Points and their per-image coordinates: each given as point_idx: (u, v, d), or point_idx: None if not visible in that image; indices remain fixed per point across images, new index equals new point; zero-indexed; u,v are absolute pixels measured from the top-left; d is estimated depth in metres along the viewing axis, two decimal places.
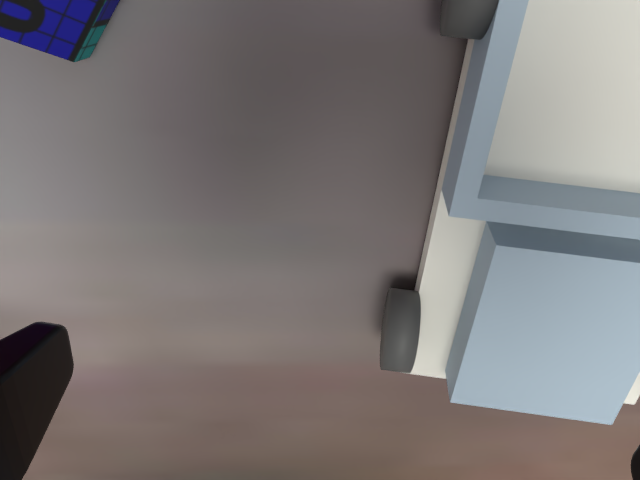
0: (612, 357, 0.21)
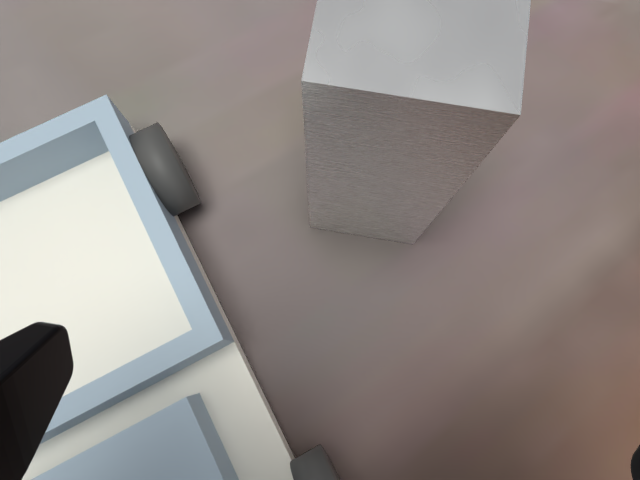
0: None
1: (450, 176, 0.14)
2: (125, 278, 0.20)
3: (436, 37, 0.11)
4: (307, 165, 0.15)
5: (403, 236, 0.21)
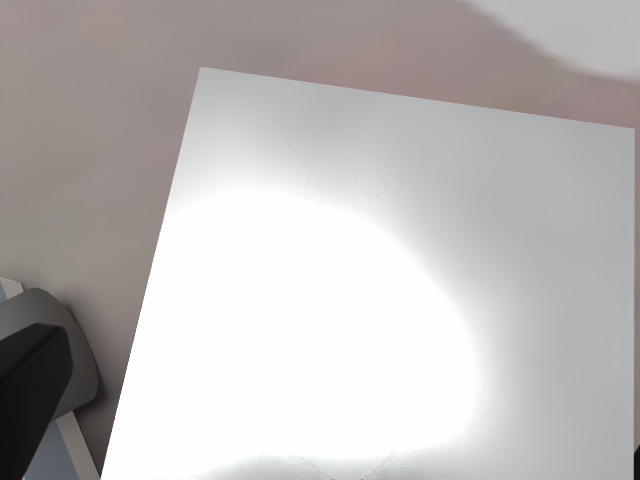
0: None
1: None
2: None
3: (419, 408, 0.05)
4: None
5: None
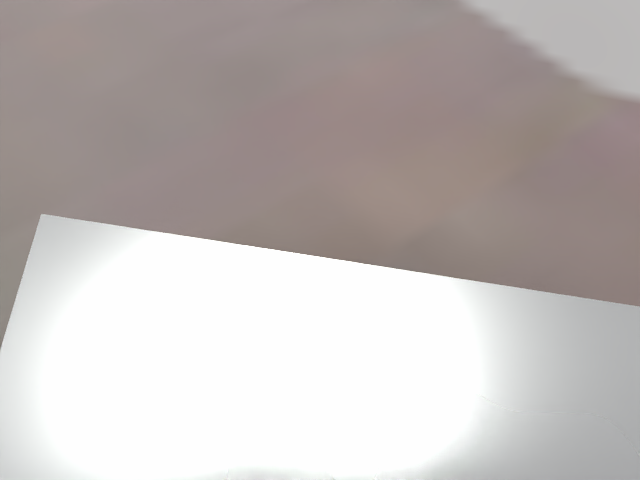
0: None
1: None
2: None
3: None
4: None
5: None
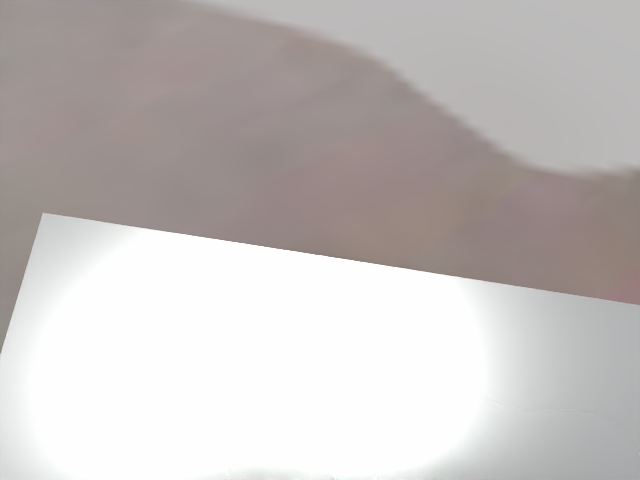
0: None
1: None
2: None
3: None
4: None
5: None
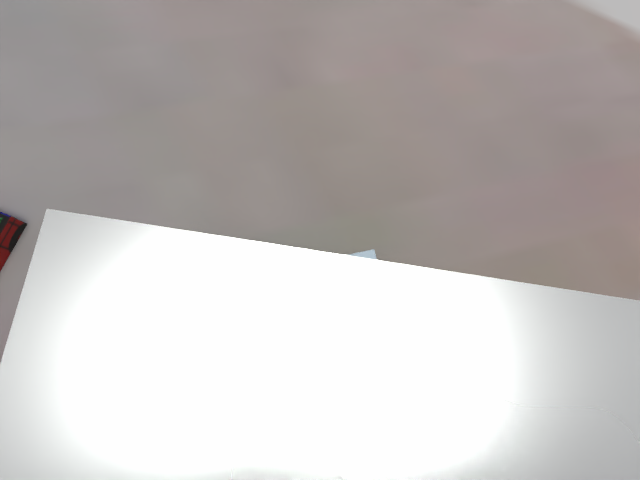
0: None
1: None
2: None
3: None
4: None
5: None
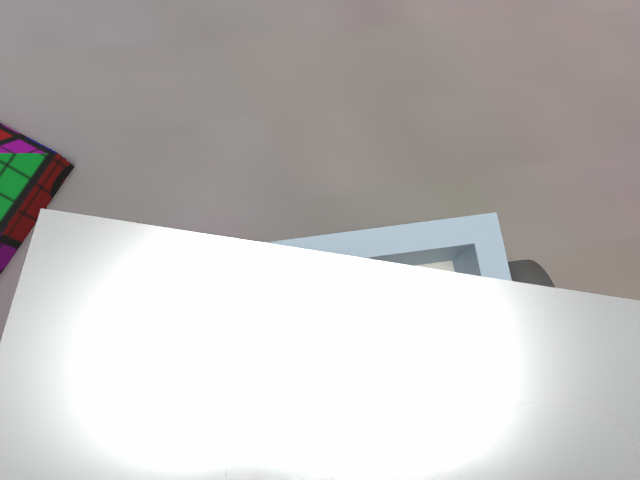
0: None
1: None
2: None
3: None
4: None
5: None
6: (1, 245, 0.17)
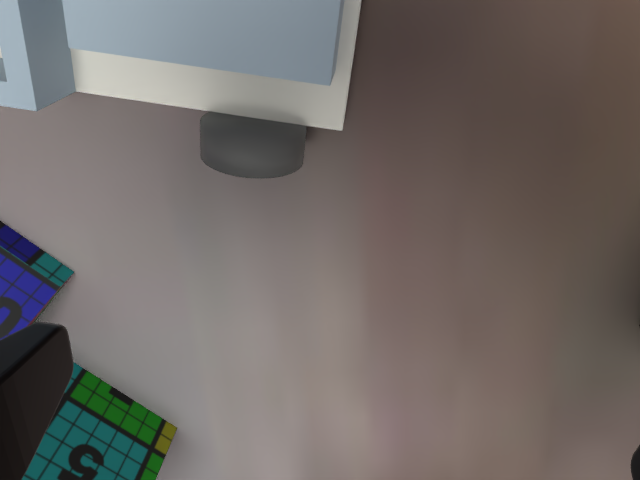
0: None
1: None
2: None
3: None
4: None
5: None
6: None
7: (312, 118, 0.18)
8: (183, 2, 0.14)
